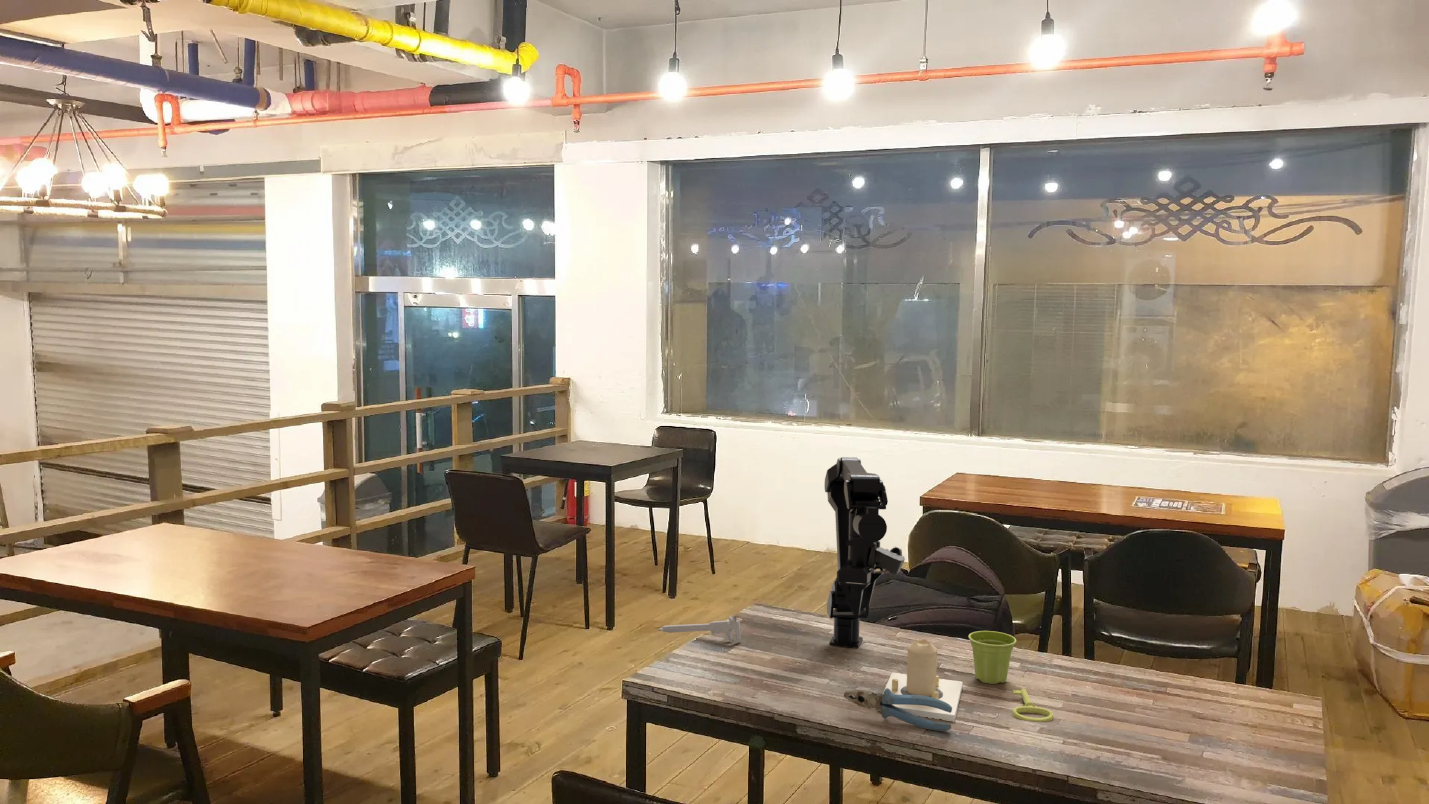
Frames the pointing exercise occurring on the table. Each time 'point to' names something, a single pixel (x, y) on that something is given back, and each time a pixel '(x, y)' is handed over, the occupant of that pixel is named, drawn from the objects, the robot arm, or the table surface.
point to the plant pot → (991, 655)
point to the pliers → (887, 709)
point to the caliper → (710, 628)
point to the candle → (921, 668)
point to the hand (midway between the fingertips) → (861, 610)
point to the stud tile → (944, 692)
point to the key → (1030, 709)
